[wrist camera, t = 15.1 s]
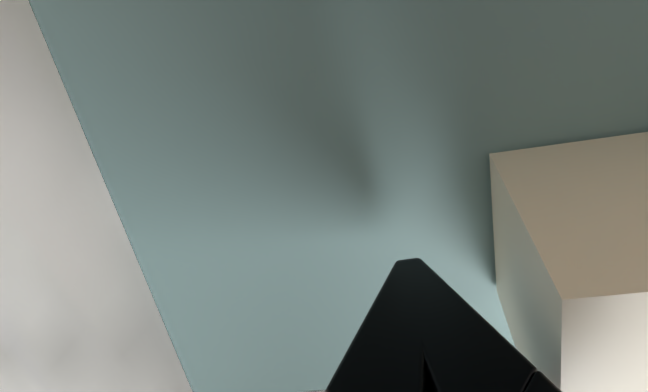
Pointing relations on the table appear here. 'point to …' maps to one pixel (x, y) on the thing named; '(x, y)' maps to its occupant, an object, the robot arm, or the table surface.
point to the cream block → (576, 259)
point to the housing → (325, 151)
